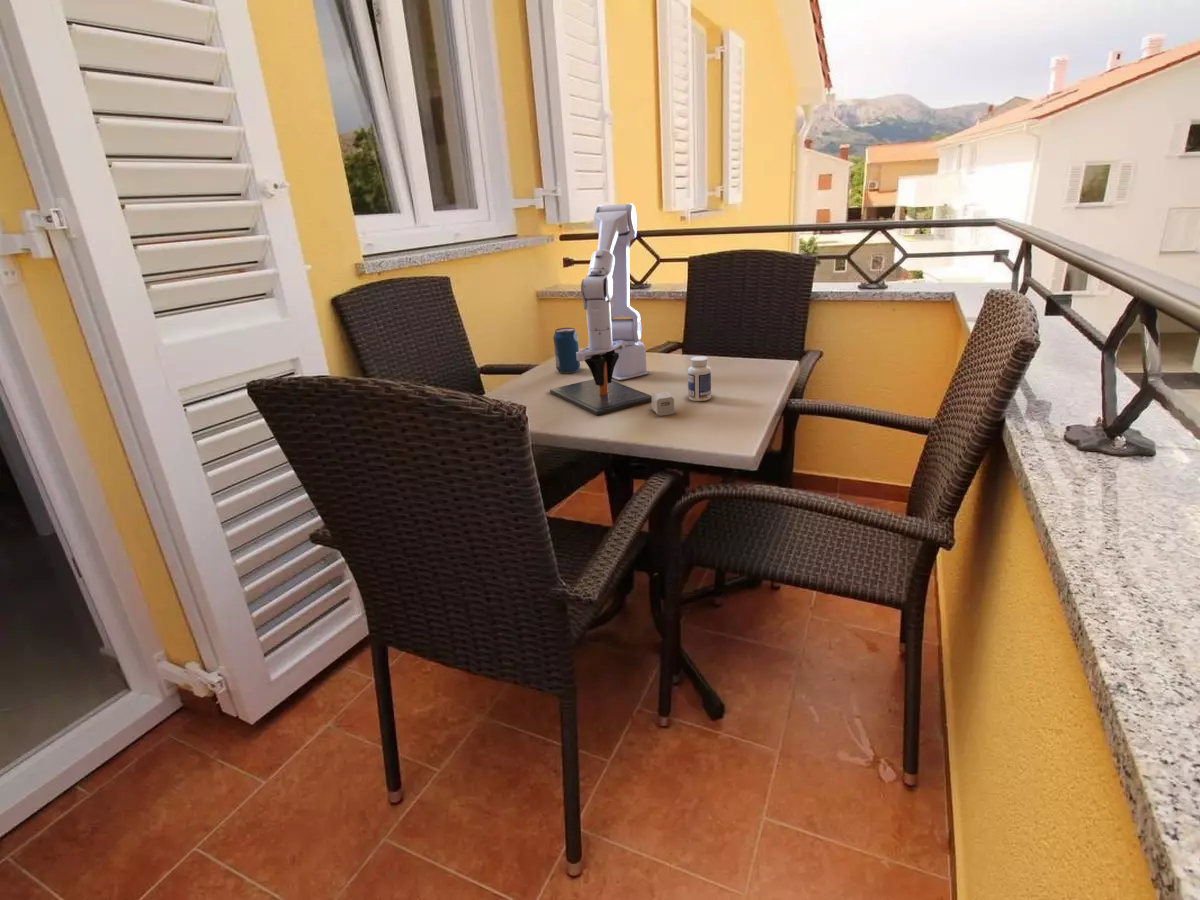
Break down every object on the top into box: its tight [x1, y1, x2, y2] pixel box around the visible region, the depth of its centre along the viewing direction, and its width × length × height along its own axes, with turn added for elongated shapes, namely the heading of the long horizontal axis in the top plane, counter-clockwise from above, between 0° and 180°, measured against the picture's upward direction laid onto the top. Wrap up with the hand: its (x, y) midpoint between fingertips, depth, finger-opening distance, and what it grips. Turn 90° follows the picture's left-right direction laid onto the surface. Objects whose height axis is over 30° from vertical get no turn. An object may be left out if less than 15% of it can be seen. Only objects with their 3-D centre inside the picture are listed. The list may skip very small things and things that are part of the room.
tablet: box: [549, 378, 652, 416], centre depth 156 cm, size 16×24×1 cm, turn 31°
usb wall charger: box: [651, 391, 675, 417], centre depth 142 cm, size 4×7×4 cm, turn 11°
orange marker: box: [599, 357, 608, 395], centre depth 152 cm, size 2×2×9 cm
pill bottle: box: [687, 355, 712, 402], centre depth 147 cm, size 5×5×10 cm
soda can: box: [552, 327, 581, 374], centre depth 179 cm, size 7×7×12 cm
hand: (603, 383), depth 153 cm, fingers closed on orange marker, 2 cm apart
